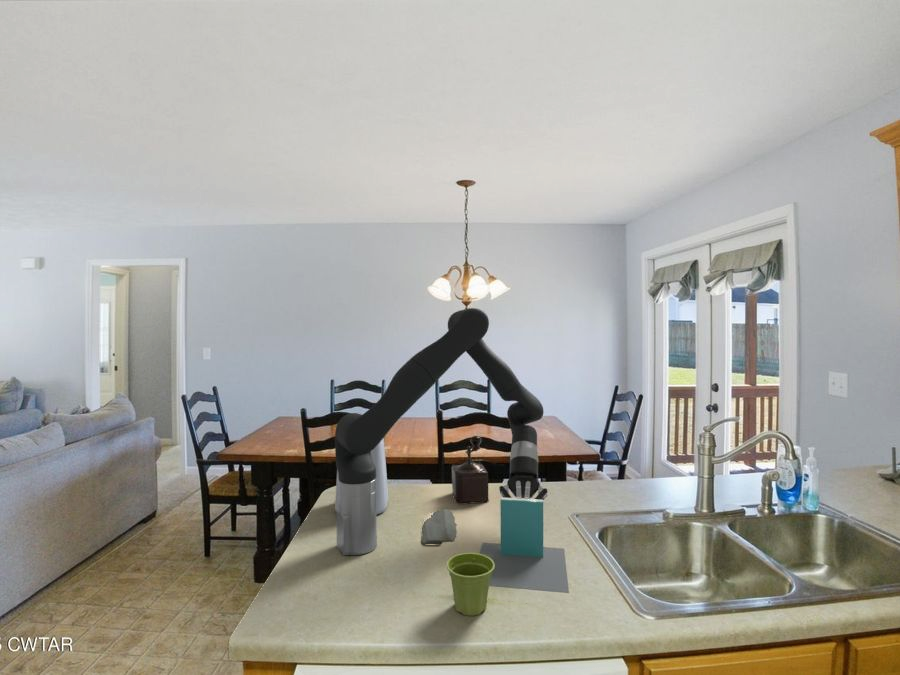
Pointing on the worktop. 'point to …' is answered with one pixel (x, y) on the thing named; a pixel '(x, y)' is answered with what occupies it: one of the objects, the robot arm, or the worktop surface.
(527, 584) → the rubber mat
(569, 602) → the worktop surface
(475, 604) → the plant pot
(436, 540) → the stone slab
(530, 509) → the glazed tile
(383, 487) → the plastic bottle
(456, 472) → the brown coffee grinder
